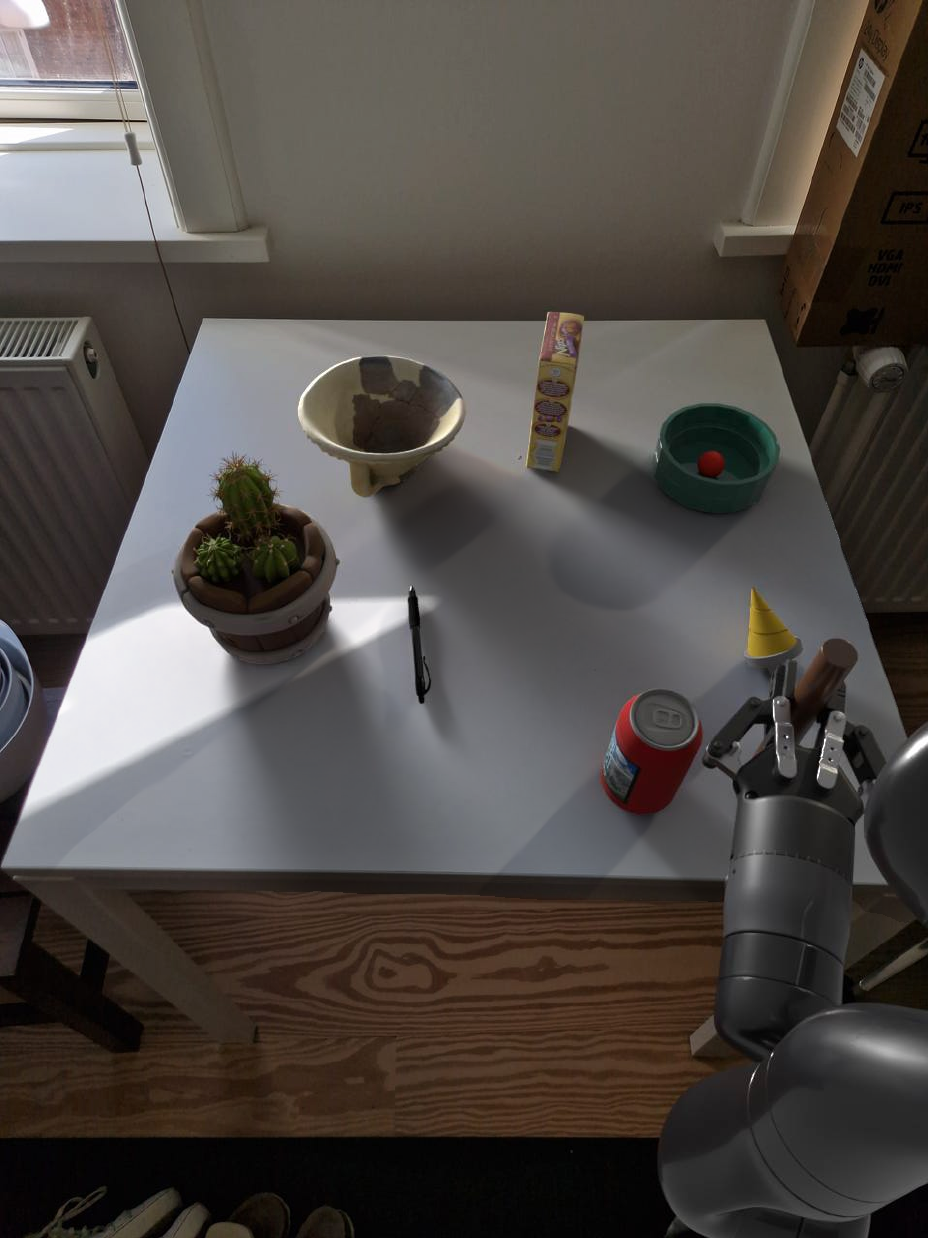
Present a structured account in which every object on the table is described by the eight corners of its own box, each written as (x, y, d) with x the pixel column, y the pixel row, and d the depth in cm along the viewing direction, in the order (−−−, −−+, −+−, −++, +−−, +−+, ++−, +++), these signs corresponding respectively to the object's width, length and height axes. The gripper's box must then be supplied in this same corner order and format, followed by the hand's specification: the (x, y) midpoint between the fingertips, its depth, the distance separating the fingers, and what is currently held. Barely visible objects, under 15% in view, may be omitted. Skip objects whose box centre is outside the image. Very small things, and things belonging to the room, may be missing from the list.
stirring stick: (782, 755, 71) (859, 643, 58) (778, 780, 70) (857, 671, 56) (753, 747, 72) (823, 633, 58) (749, 772, 71) (820, 661, 57)
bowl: (432, 538, 93) (430, 475, 86) (285, 497, 97) (269, 433, 89) (485, 435, 103) (487, 370, 95) (349, 401, 107) (341, 335, 99)
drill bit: (749, 697, 82) (717, 602, 80) (762, 675, 86) (733, 583, 84) (805, 690, 79) (774, 590, 77) (817, 667, 83) (787, 572, 81)
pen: (433, 705, 81) (433, 699, 80) (416, 706, 81) (415, 700, 80) (422, 589, 89) (422, 582, 88) (406, 590, 89) (405, 583, 88)
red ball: (693, 479, 98) (716, 480, 99) (706, 474, 95) (730, 474, 96) (692, 454, 98) (715, 454, 99) (705, 447, 96) (729, 448, 96)
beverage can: (602, 743, 79) (625, 674, 69) (676, 756, 78) (709, 688, 68) (595, 811, 75) (618, 748, 65) (673, 825, 74) (707, 763, 64)
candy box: (562, 474, 99) (576, 365, 87) (525, 469, 100) (534, 360, 87) (570, 423, 104) (585, 313, 92) (535, 418, 105) (545, 309, 92)
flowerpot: (340, 688, 82) (311, 552, 66) (182, 683, 82) (114, 547, 66) (357, 570, 91) (334, 425, 74) (213, 566, 91) (160, 421, 75)
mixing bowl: (772, 448, 102) (785, 416, 98) (760, 527, 94) (773, 495, 90) (662, 426, 104) (670, 393, 100) (642, 501, 97) (650, 468, 93)
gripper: (927, 900, 51) (926, 667, 60) (693, 831, 53) (729, 618, 63) (877, 937, 57) (883, 719, 66) (669, 873, 59) (705, 673, 69)
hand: (808, 671), depth 65 cm, fingers closed on stirring stick, 2 cm apart
